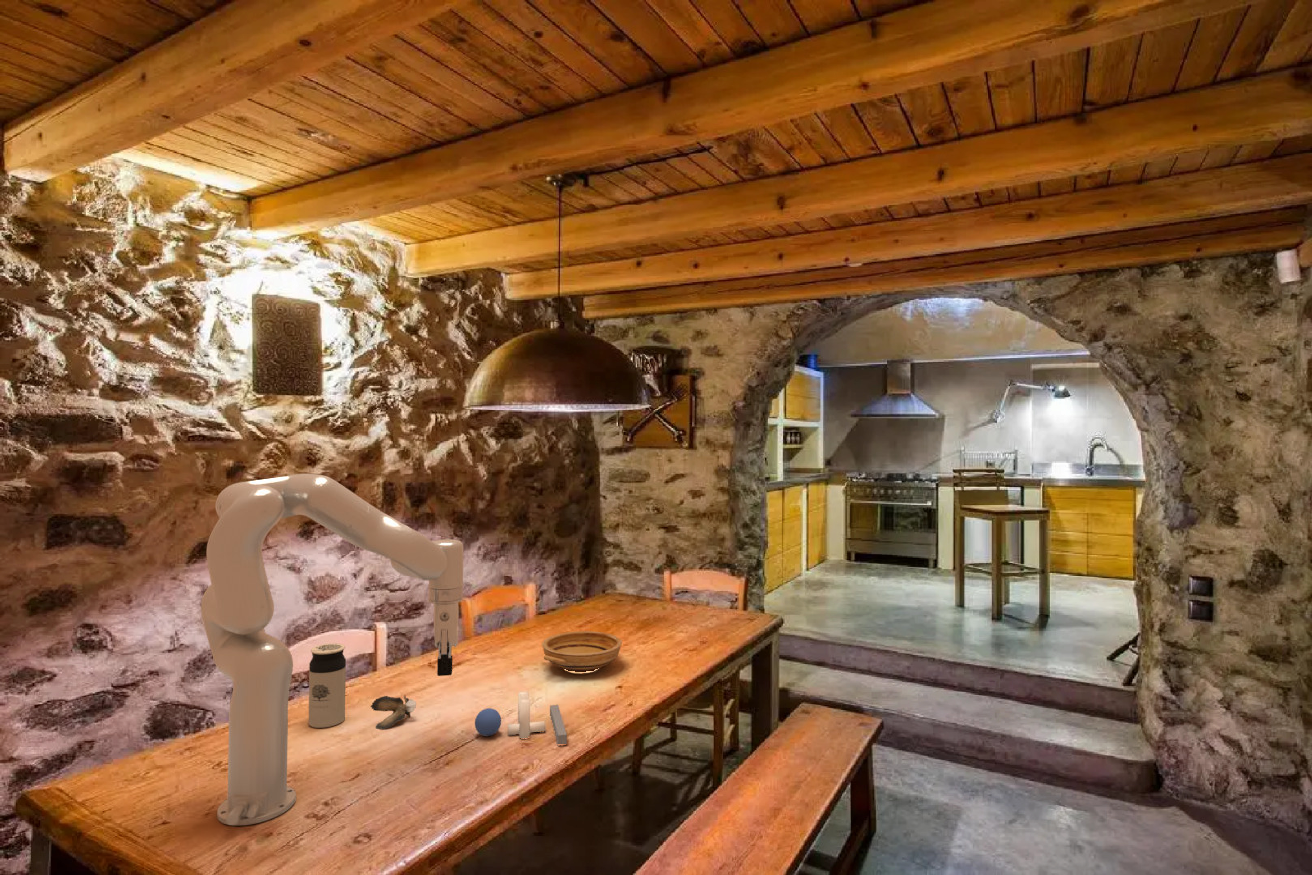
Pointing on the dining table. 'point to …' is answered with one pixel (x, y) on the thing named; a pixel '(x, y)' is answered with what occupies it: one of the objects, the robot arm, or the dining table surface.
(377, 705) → the eagle figurine
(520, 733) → the pin
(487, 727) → the ball
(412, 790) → the dining table surface
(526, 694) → the pin
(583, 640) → the ceramic bowl
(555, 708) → the gray rectangular bar
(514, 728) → the front pin
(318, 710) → the travel mug
